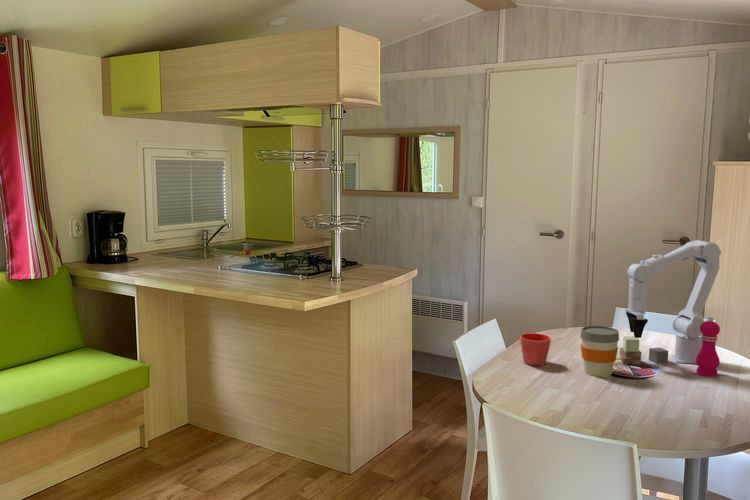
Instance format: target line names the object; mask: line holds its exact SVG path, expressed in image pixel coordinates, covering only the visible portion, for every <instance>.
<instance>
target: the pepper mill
mask: <svg viewBox="0 0 750 500" xmlns="http://www.w3.org/2000/svg"><path fill="white" fill-rule="evenodd" d="M700 331H701V333H702V334H701V336H700V337H701V339H702V347H701V350H700V351H699V353H698V355H697V357H696V363H697V364H696V363H695V364H696V365H697V366H698V367H696V374H697V375H699V376H701V377H706V378H716V377H718V370H717V369H718V368H719V366H720V365H721V363H720V362H721V361H720V360H721V359H720V357H719V355H718V353H717V350H716V349H717V347H716V343H717V341H718V338H719V337H718V335H719V334H720V331H721V327H720V325H719V324H718V323H717V322H715V321H714V317H712V316H709V317H707V320H704V322H703V323H702V324H701V326H700Z"/></svg>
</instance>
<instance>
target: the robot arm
mask: <svg viewBox="0 0 750 500" xmlns="http://www.w3.org/2000/svg"><path fill="white" fill-rule="evenodd" d="M721 254H722V251H721V249H720V246H719V245H718V244H717V243H715V242H712V241H711V242H710V241H709V242H708V241H706V240H705V241H704V240H700V239H694V240H691V241H688V242H686V243H685V244H684V245H682V246H680V247H678V248H676V249H675V250H672V251H670V252H668V253H667V254H665V255H661V254H653V255H651V256H652V257H650V258H647V259H646V260H640V261H639V263H633V264H631V265H630V266H629V267H628V269H627V270H626V276H627V277H628V279H629V280H628V283H629V285H628V305H627V306H628V307H627V308H624V312H625V314H626V317H627V320H628V324H629V325H628V326H629V331H630V333H633V337H635V338H638V339H641V338H642V335H643V332H644V329H645V326H646V325H647V324H648V322H649V320H648V319H647V318H645V317H644V316H645V314H646V313H647V310H646V304H647V284H648V282H647V281H648V280H650V278H651V277H652V276H654V275H657V274H659V273H660V272H663V271H664V270H667V268H668V266H669V265H671V264H672V263H675V262H678V261H680V260H683V259H686V258H688V257H690V258H693V259H695V261H696V262H697V263H698V265H699V267H700V271H699V273H698V275H697V278H696V281H695V284H694V285H693V289H692V291H691V293H690V295H689V299H688V301H687V304H686V306H685V308H683V309H682V310H680V311H679V313H678V314H677V316H676V317H675V318H674V319H673V321H672V329H673V330H674V331H675V346H674V347H675V349H674V354H671V357H672V359H673V360H674V361H675V362H676V363H679V364H681V363H682V364H696V365H697V363H696V357H697V355H698V353H699V351H700V350H701V347H702V339H701V335H702V333H701V331H700V326H701V324H702V323H703V322H705V319H704V317H703V315H702V313H703V310H704V308H705V306H706V304H707V301H708V298H709V296H710V293H711V291H712V288H713V286H714V283H715V281H716V278H717V276H718V273H719V271H720V257H721Z"/></svg>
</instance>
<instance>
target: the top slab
mask: <svg viewBox="0 0 750 500" xmlns="http://www.w3.org/2000/svg"><path fill="white" fill-rule="evenodd" d="M620 355H621V356H622V357H624V358H625V359H641V360H642V352H641V351H640V350H639V352H626V351H625V350H624V349H623V347H619V356H620Z"/></svg>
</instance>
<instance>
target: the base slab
mask: <svg viewBox="0 0 750 500" xmlns="http://www.w3.org/2000/svg"><path fill="white" fill-rule="evenodd" d="M619 356H620V357H619V358H620V359H621V360H620V362H621V361H622V362H621V364H622V363H623V364H622V365H625V364H634V365H633V366H641V364H642V358H641V359H625V358H624V357H622V356H621V355H620V354H619Z"/></svg>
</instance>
